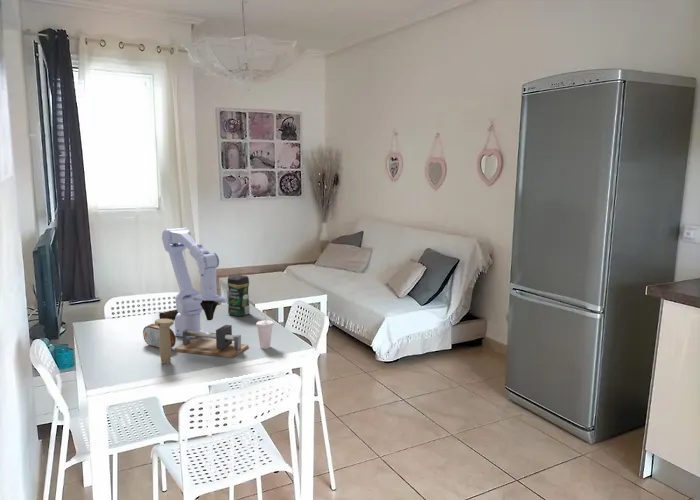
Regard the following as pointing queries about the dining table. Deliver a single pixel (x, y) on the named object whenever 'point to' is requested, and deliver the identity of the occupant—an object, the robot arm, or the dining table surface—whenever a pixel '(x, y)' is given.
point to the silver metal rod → (211, 335)
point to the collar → (223, 337)
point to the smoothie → (264, 332)
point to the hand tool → (168, 314)
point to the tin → (155, 336)
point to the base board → (209, 348)
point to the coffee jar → (238, 295)
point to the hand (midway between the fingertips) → (209, 319)
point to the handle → (164, 339)
